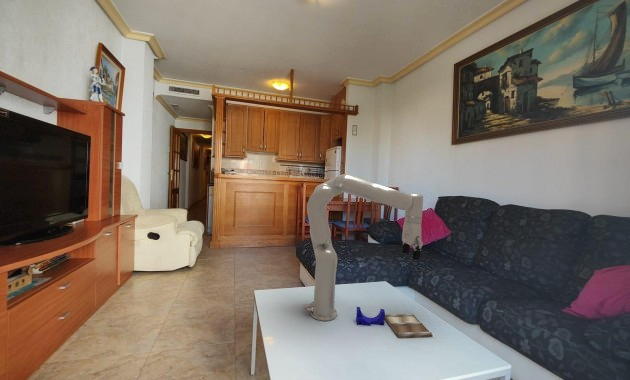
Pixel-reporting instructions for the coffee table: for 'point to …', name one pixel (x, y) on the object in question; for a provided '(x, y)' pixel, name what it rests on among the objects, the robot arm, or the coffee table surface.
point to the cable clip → (368, 321)
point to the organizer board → (406, 326)
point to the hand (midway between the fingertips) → (410, 255)
